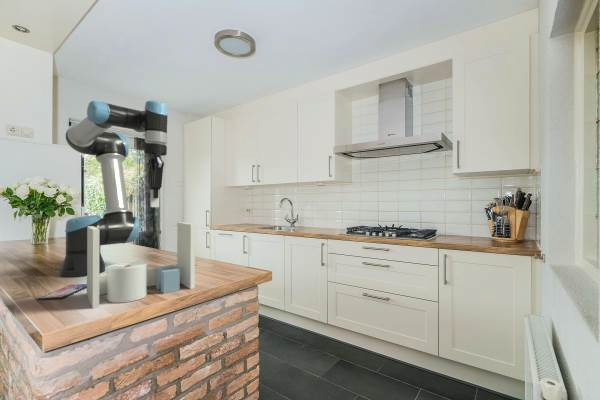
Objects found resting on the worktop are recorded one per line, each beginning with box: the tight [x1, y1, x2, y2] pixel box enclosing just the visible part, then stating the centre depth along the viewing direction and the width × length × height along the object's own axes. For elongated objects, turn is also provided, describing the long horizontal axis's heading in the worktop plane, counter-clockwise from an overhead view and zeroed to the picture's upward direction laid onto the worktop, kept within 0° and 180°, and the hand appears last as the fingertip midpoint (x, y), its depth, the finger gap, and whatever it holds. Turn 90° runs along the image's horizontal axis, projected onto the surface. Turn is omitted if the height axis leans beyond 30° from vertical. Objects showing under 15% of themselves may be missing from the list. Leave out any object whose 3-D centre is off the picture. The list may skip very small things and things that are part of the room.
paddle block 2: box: [160, 268, 181, 295], centre depth 99 cm, size 3×5×7 cm, turn 131°
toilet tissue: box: [106, 259, 148, 304], centre depth 93 cm, size 11×12×10 cm
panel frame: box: [86, 221, 196, 309], centre depth 98 cm, size 14×29×22 cm, turn 131°
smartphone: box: [36, 283, 87, 301], centre depth 98 cm, size 8×1×15 cm
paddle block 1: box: [155, 265, 174, 291], centre depth 103 cm, size 3×5×7 cm, turn 131°
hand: (154, 206), depth 112 cm, fingers closed
